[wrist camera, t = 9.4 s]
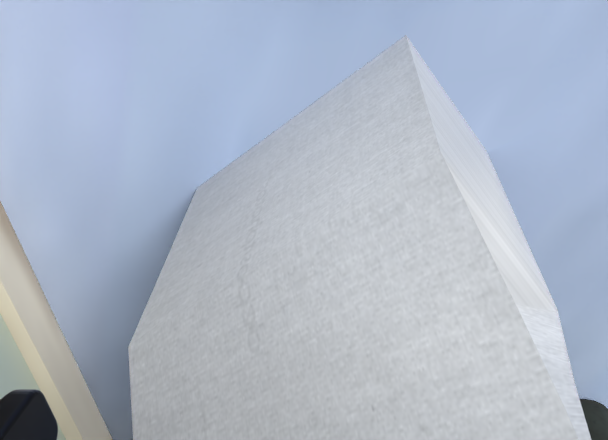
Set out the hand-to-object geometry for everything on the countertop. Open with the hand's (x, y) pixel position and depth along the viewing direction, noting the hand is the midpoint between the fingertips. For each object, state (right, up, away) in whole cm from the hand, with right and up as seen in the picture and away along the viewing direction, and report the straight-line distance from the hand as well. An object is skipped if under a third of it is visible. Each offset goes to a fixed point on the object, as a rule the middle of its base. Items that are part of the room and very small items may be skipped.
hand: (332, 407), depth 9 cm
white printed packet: (0, +4, +7) cm, 8 cm away
